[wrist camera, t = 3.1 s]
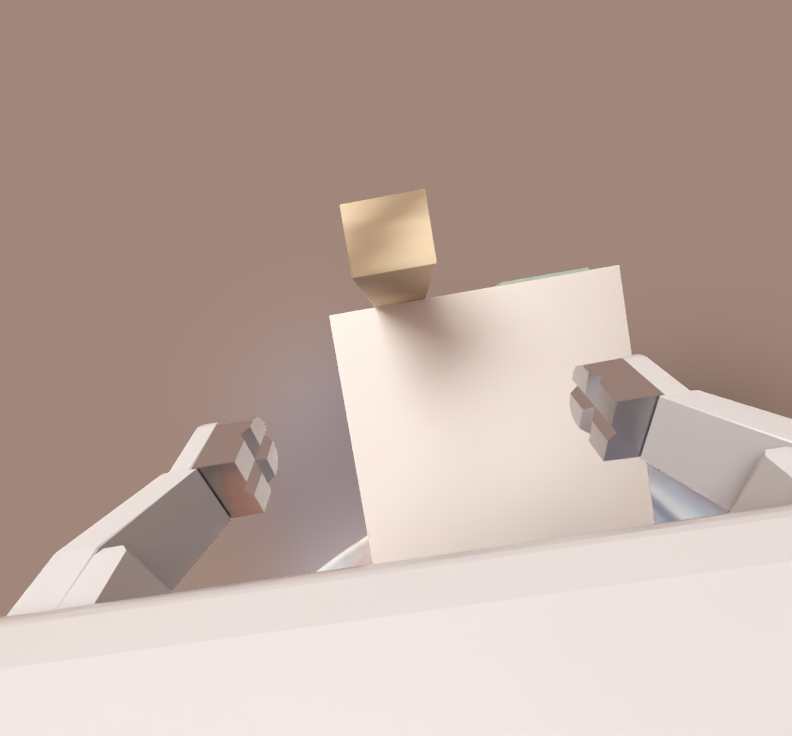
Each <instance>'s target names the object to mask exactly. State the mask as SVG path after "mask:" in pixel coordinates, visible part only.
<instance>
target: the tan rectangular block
mask: <svg viewBox="0 0 792 736" xmlns="http://www.w3.org/2000/svg"><path fill="white" fill-rule="evenodd" d="M340 209H341V214H342V220H343V226H344V232H345V238H346V243H347V250H348V255H349V261H350V267H351V273H352V278H353V280H354V281H355V282H356V284H357V285H358V286H359V287H360V289H361V290H362V291H363V293H364V294H365V295H366V297H367V298H368V299H369V301H371V303H372V304H373V306H374V307H375V308H376V307H382V306H387V305H393V304H399V303H405V302H410V301H416V300H422V299H425V297H426V294H427V291H428V288H429V285H430V282H431V279H432V276H433V273H434V270H435V267H436V264H437V261H436V255H435V249H434V243H433V237H432V231H431V225H430V219H429V212H428V206H427V200H426V194H425V189H421V190H416V191H411V192H406V193H401V194H395V195H389V196H385V197H379V198H373V199H368V200H363V201H357V202H353V203H347V204H341V205H340Z"/></svg>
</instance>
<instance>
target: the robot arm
mask: <svg viewBox="0 0 792 736" xmlns="http://www.w3.org/2000/svg"><path fill="white" fill-rule="evenodd" d="M572 380H573V381H574V382H575V383H576V384H577V386H576V388H575V389H574V390H573V391H572V392H571V393H570V403H569V404H570V410H571V414H572V417H573V419H574V421H575V423H576V424H577V426H578V427H579V429H581V430H583V431H585V432H587V433H589V434H590V437H589V442H590V444H591V445H592V446H593V448H594V449H595V450H596V452H597V453H598V455H599V456H600V457H601V459H602V460H603V461H610V460H618V459H627V458H635V457H641V458H640V459H642V460H644V461H645V462H647V463H649V464H650V465H652V466H654V467H655V468H657V469H659V470H660V471H662V472H664V473H665V474H667V475H669V476H670V477H672V478H674V479H675V480H677V481H679V482H681V483H682V484H684V485H686V486H687V487H689V488H691V489H692V490H694V491H696V492H697V493H699V494H701V495H702V496H704V497H706V498H707V499H709V500H711V501H712V502H714V503H716V504H717V505H719V506H721V507H722V508H724V509H726V510H727V511H729V512H730V513H728V514H721V515H714V516H707V517H700V518H693V519H686V520H679V521H672V522H665V523H658V524H651V525H644V526H637V527H630V528H623V529H616V530H609V531H602V532H595V533H588V534H581V535H574V536H567V537H560V538H553V539H547V540H540V541H533V542H526V543H519V544H512V545H505V546H498V547H491V548H484V549H477V550H470V551H463V552H456V553H448V554H441V555H434V556H427V557H420V558H413V559H406V560H399V561H392V562H385V563H378V564H371V565H364V566H357V567H350V568H343V569H336V570H329V571H322V572H315V573H308V574H301V575H294V576H287V577H279V578H272V579H265V580H259V581H251V582H245V583H238V584H230V585H224V586H216V587H209V588H203V589H195V590H189V591H181V592H174V593H172V592H171V591H172V590H173V589H174V587H176V585H177V584H178V583H179V582H180V581H181V579H182V578H183V577H184V576H185V575H186V573H187V572H188V571H189V570H190V569H191V567H192V566H193V565H194V564H195V563H196V562H197V560H198V559H199V558H200V557H201V556H202V554H203V553H204V552H205V551H206V549H207V548H208V547H209V546H210V545H211V544H212V543H213V541H214V540H215V539H216V537H218V535H219V534H220V533H221V532H222V531H223V529H224V528H225V527H226V526H227V525H228V523H229V522H230V521H231V519H230V518H236V517H241V516H247V515H252V514H257V513H264V512H265V508H266V505H267V502H268V498H269V495H270V492H271V489H270V487H269V485H268V482H270V481H271V480H272V478H274V476H275V475H276V471H277V468H278V454H277V450H276V447H275V445H274V443H273V441H272V440H271V439H269V438H267V437H266V436H264V434H265V432H266V426H265V424H264V422H263V420H262V419H261V418H258V417H253V418H246V419H239V420H232V421H225V422H220V423H212V424H206V425H202V426H200V427H198V428H197V429H196V431H195V432H194V434H193V436H192V437H191V438H190V440H189V442H188V443H187V445H186V447H185V448H184V450H183V451H182V453H181V454H180V456H179V458H178V459H177V461H176V462H175V464H174V465H173V467H172V469H171V470H170V472H169V473H166V474H162V475H161V476H159V477H158V478H156V479H155V480H154V481H152V482H151V483H150V484H148V485H147V486H146V487H144V488H143V489H142V490H140V491H139V492H138V493H136V494H135V495H134V496H132V497H131V498H130V499H128V500H127V501H125V502H124V503H123V504H121V505H120V506H119V507H117V508H116V509H115V510H113V511H112V512H111V513H109V514H108V515H106V516H105V517H104V518H103V519H101V520H100V521H98V522H97V523H96V524H94V525H93V526H92V527H90V528H89V529H88V530H86V531H85V532H84V533H82V534H81V535H80V536H78V537H77V538H75V539H74V540H73V541H71V542H70V543H69V544H67V545H66V546H65V547H63V548H62V549H61V550H60V551H58V552H57V553H55V554H54V556H53V557H52V558H51V559H50V561H49V562H48V563H47V565H46V566H45V567H44V568H43V570H42V571H41V572H40V574H39V575H38V576H37V577H36V579H35V580H34V581H33V583H32V584H31V585H30V586H29V588H28V589H27V590H26V591H25V593H24V594H23V595H22V597H21V598H20V599H19V600H18V602H17V603H16V604H15V606H14V607H13V608H12V609H11V611H10V612H9V613H8V615H7V616H6V617H0V736H792V419H790V418H787V417H783V416H780V415H777V414H774V413H770V412H767V411H764V410H761V409H757V408H754V407H751V406H748V405H744V404H741V403H738V402H735V401H731V400H728V399H725V398H722V397H718V396H715V395H712V394H709V393H705V392H702V391H699V390H695V391H690V390H688V389H687V388H686V387H684V386H683V385H682V384H681V383H679V382H678V381H677V380H675V379H674V378H673V377H672V376H670V375H669V374H668V373H666V372H665V371H663V370H662V369H661V368H660V367H658V366H657V365H656V364H654V363H653V362H652V361H650V360H649V359H648V358H647V357H646V356H643V355H640V354H636V355H631V356H626V357H620V358H617V359H613V360H607V361H601V362H595V363H589V364H583V365H577V366H576V367H575V369H574V371H573V378H572Z"/></svg>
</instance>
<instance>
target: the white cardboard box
mask: <svg viewBox="0 0 792 736" xmlns="http://www.w3.org/2000/svg"><path fill="white" fill-rule="evenodd" d="M329 318H330V323H331V328H332V335H333V340H334V346H335V352H336V357H337V363H338V368H339V374H340V379H341V386H342V391H343V397H344V403H345V408H346V414H347V420H348V425H349V431H350V437H351V443H352V448H353V453H354V459H355V465H356V471H357V476H358V482H359V488H360V494H361V499H362V505H363V511H364V516H365V521H366V528H367V533H368V539H369V545H370V550H371V556H372V562H373V564H378V563H385V562H392V561H399V560H406V559H413V558H420V557H427V556H434V555H441V554H448V553H456V552H463V551H470V550H477V549H484V548H491V547H498V546H505V545H512V544H519V543H526V542H533V541H540V540H547V539H553V538H560V537H567V536H574V535H581V534H588V533H595V532H602V531H609V530H616V529H623V528H630V527H637V526H644V525H651V524H655V520H654V513H653V506H652V499H651V492H650V484H649V477H648V470H647V463H646V462H645V461H644V460H642V459H640V458H641V457H635V458H627V459H618V460H610V461H603V460H602V459H601V457H600V456H599V455H598V453H597V452H596V450H595V449H594V448H593V446H592V445H591V444H590V442H589V437H590V434H589V433H587V432H585V431H583V430H581V429H579V427H578V426H577V424H576V423H575V421H574V419H573V417H572V414H571V410H570V404H569V403H570V393H571V392H572V391H573V390H574V389H575V388H576V386H577V384H576V383H575V382H574V381H573V380H572V378H573V371H574V369H575V367H576V366H577V365H583V364H589V363H595V362H601V361H607V360H613V359H617V358H620V357H626V356H631V348H630V340H629V334H628V326H627V319H626V312H625V304H624V297H623V290H622V283H621V276H620V269H619V265H617V266H611V267H605V268H600V269H594V270H589V268H582V269H576V270H571V271H565V272H559V273H554V274H548V275H542V276H536V277H531V278H525V279H519V280H513V281H508V282H502V283H499V284H498V285H497V286H496V287H491V288H485V289H479V290H473V291H468V292H462V293H456V294H451V295H445V296H439V297H434V298H427V299H422V300H416V301H410V302H405V303H399V304H393V305H387V306H382V307H376V308H371V309H365V310H359V311H353V312H347V313H342V314H336V315H330V316H329Z"/></svg>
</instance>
